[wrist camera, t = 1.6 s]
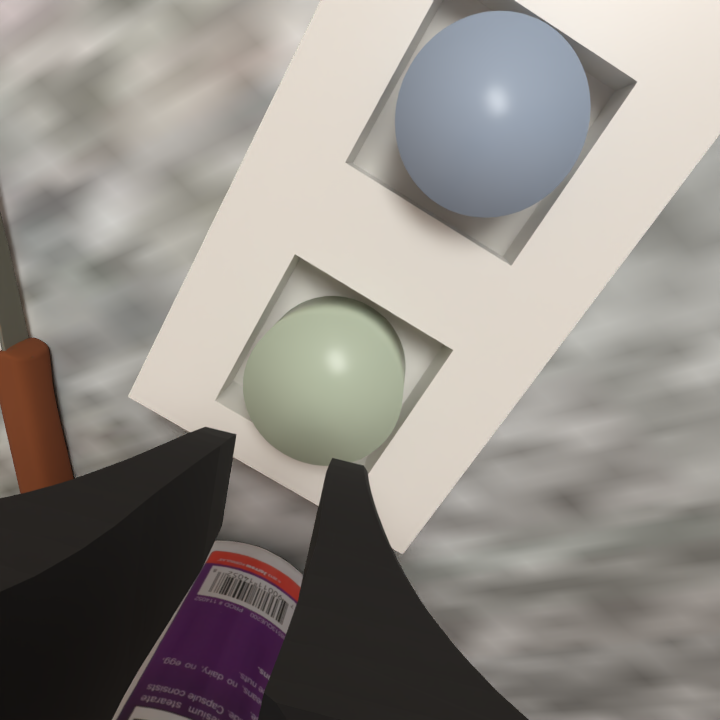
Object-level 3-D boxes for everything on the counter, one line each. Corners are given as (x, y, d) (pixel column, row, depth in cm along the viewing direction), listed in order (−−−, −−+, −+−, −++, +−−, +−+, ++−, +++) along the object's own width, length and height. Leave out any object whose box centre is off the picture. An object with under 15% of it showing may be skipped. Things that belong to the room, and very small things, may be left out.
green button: (433, 344, 18) (434, 369, 16) (359, 454, 19) (350, 492, 17) (307, 268, 18) (289, 282, 15) (241, 385, 19) (216, 415, 17)
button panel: (938, -223, 14) (1057, -314, 11) (405, 507, 22) (402, 554, 19) (590, -478, 13) (631, -638, 11) (165, 367, 21) (128, 396, 18)
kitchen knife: (94, 549, 24) (67, 581, 22) (62, 548, 24) (32, 580, 22) (17, 134, 19) (-26, 131, 17) (-23, 136, 19) (-70, 132, 17)
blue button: (601, 93, 15) (632, 80, 13) (502, 240, 17) (514, 252, 14) (457, -1, 15) (463, -32, 13) (369, 157, 16) (360, 155, 14)
